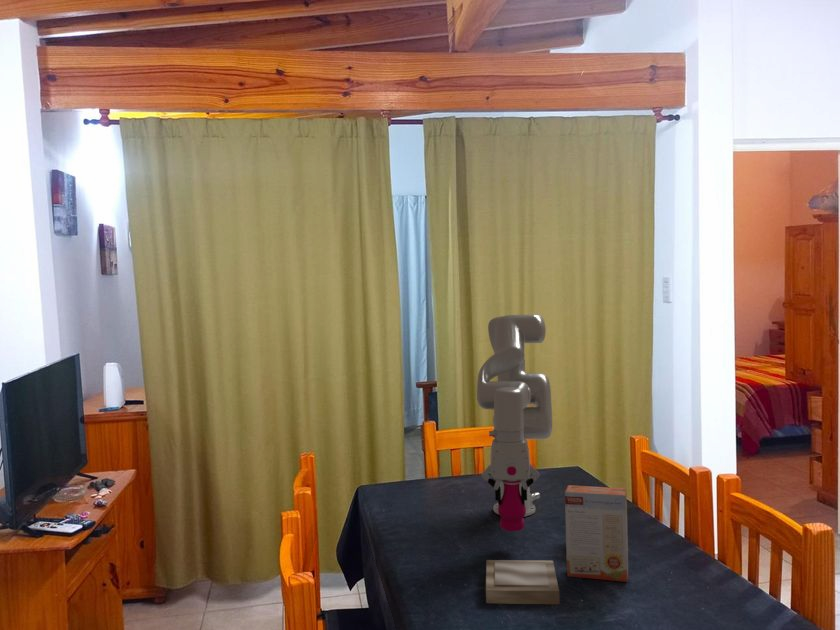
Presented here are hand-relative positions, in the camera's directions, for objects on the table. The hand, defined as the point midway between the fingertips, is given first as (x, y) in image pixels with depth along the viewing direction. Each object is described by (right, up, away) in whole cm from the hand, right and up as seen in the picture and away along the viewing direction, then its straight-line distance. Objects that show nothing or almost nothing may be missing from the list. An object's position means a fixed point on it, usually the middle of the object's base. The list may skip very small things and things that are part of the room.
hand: (511, 502), depth 186 cm
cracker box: (+19, -13, -16) cm, 28 cm away
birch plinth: (0, -14, -21) cm, 25 cm away
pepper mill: (0, -7, +1) cm, 7 cm away
